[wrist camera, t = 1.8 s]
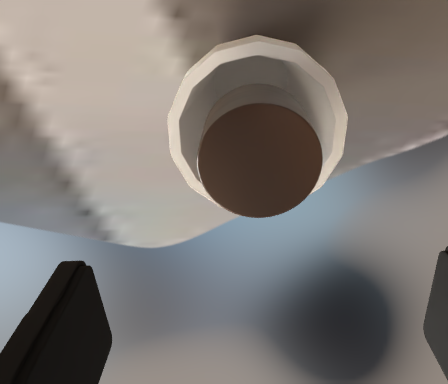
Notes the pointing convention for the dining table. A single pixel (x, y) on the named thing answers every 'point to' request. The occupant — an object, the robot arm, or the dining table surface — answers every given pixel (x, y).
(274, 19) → the dining table surface
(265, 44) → the foam cup
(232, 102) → the walnut chip
